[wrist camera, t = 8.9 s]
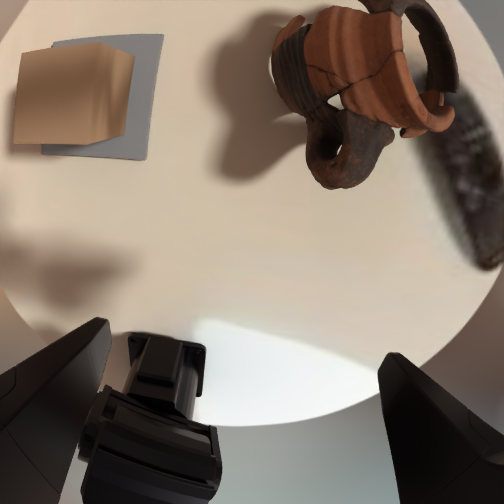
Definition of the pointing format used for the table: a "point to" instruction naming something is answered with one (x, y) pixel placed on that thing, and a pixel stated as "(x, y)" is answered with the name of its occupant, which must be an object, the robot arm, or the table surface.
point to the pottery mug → (362, 83)
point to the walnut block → (72, 94)
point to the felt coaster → (138, 105)
